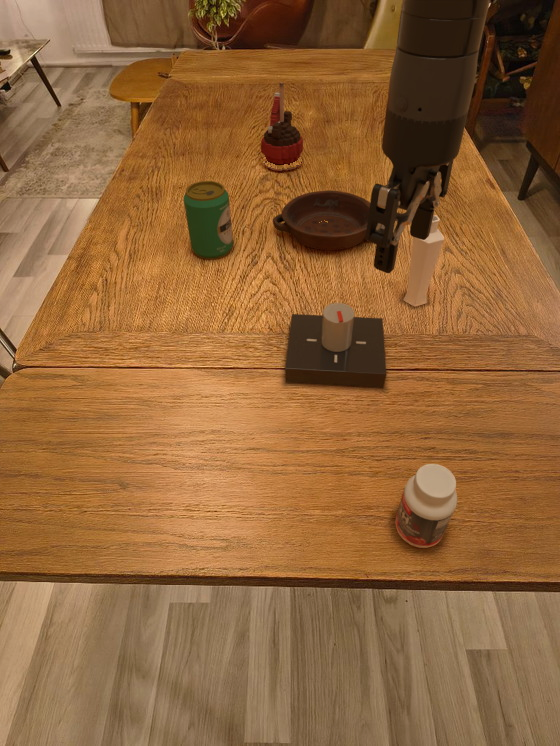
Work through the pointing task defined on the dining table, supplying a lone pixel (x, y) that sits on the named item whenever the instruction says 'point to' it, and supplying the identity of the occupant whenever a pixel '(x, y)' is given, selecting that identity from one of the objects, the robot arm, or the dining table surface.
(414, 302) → the perfume bottle
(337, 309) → the stove knob
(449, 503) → the pill bottle
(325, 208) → the dish
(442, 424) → the dining table surface
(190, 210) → the beverage can
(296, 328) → the black dial box
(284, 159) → the cake
